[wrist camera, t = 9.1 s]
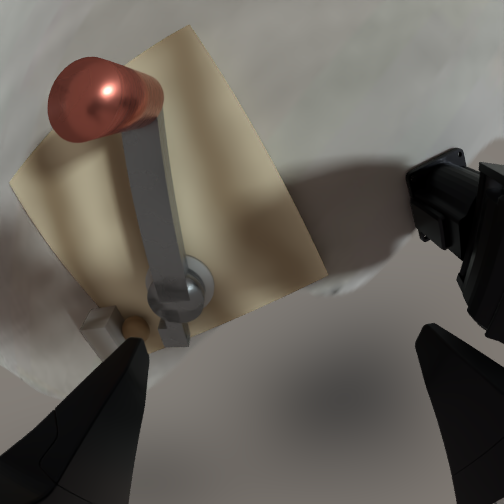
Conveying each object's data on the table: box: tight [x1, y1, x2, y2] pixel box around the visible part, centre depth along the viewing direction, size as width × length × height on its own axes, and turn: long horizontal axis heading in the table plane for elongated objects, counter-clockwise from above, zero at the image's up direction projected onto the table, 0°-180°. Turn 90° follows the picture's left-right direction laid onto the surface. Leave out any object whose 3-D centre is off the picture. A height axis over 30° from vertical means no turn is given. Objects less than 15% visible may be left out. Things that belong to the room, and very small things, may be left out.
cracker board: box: [9, 25, 328, 362], centre depth 18 cm, size 20×20×4 cm
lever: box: [48, 57, 206, 347], centre depth 14 cm, size 4×19×8 cm, turn 4°
